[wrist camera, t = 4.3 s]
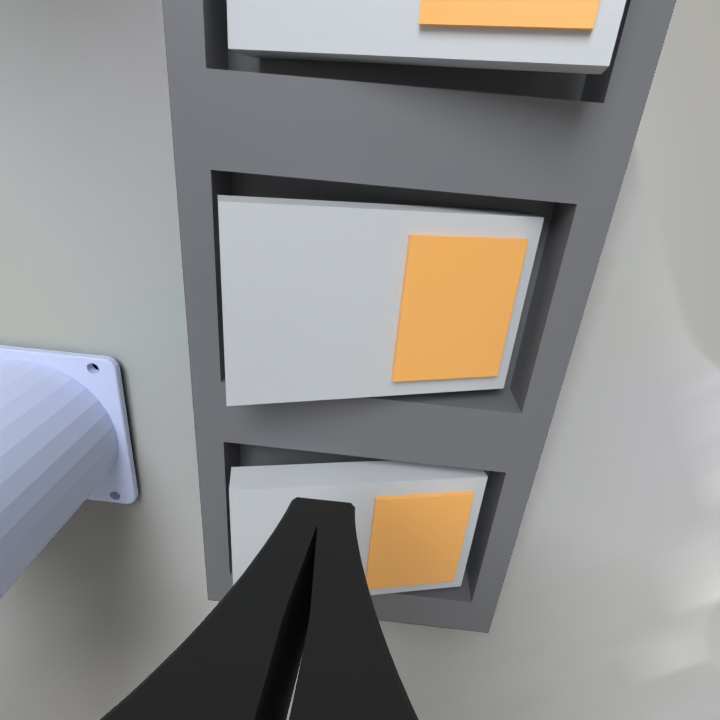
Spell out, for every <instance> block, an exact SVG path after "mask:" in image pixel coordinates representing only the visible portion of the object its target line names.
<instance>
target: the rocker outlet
mask: <svg viewBox="0 0 720 720" xmlns="http://www.w3.org/2000/svg"><path fill="white" fill-rule="evenodd" d="M625 3H626V0H227V25H228V49H230V50H233V51H236V52H239V53H242V54H244V55H247V56H250V57H259V58H279V59H299V60H319V61H340V62H360V63H380V64H400V65H420V66H441V67H461V68H481V69H501V70H521V71H541V72H562V73H582V74H602V73H603V72H604V71H605V70H606V69H607V68H608V67H609V65H610V61H611V57H612V53H613V49H614V46H615V42H616V38H617V34H618V30H619V26H620V23H621V19H622V15H623V11H624V7H625Z"/></svg>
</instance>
